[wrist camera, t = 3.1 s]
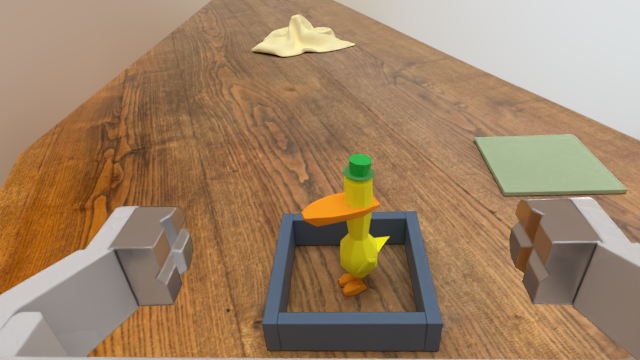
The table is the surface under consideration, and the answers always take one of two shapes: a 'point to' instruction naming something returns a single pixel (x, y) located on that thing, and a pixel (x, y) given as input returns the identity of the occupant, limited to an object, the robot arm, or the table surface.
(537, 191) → the felt mat
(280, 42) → the cloth
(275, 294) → the open square frame
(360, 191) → the toy figure
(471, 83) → the table surface
